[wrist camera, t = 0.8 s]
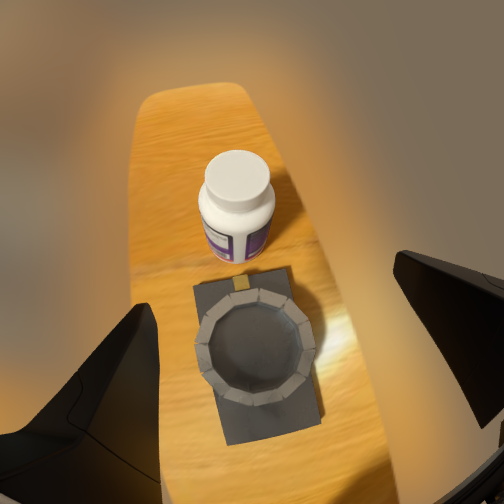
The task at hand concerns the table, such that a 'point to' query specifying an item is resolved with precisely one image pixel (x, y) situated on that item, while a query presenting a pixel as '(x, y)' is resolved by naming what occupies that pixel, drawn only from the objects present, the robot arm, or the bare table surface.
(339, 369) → the table surface
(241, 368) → the plate
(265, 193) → the pill bottle
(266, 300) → the collar
